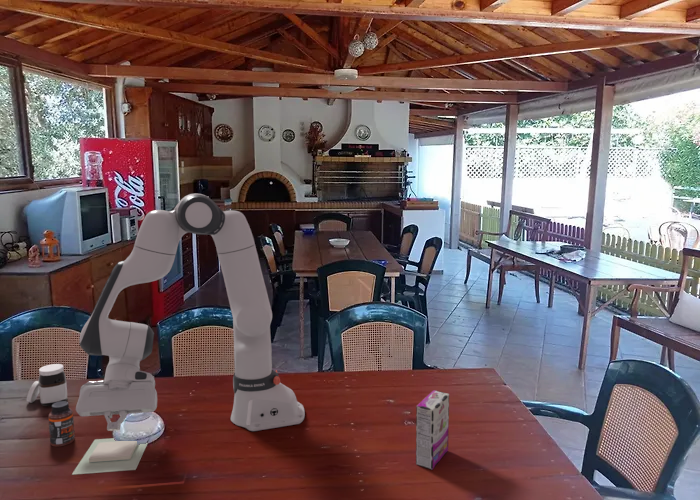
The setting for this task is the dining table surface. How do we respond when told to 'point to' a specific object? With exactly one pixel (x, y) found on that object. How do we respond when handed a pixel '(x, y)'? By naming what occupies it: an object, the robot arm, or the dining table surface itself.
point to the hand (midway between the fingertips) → (113, 429)
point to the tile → (113, 451)
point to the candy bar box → (432, 429)
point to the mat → (108, 466)
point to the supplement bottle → (61, 424)
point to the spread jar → (49, 385)
